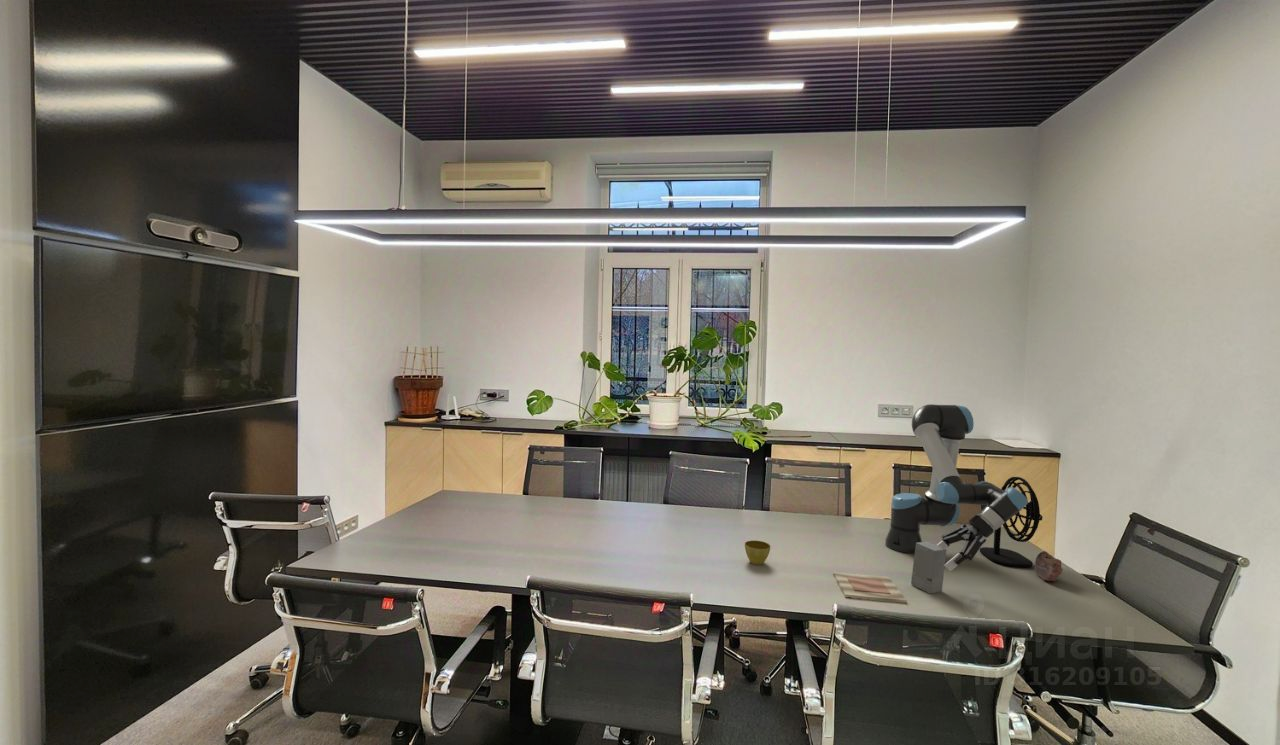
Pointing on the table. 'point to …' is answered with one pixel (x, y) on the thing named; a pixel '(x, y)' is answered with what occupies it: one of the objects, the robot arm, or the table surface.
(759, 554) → the flower pot
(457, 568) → the table surface
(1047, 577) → the stone
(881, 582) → the seat board
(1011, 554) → the desk fan
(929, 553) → the skincare box
